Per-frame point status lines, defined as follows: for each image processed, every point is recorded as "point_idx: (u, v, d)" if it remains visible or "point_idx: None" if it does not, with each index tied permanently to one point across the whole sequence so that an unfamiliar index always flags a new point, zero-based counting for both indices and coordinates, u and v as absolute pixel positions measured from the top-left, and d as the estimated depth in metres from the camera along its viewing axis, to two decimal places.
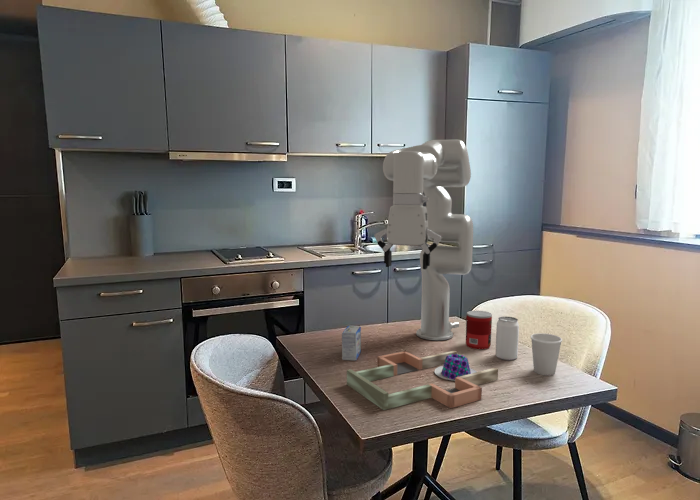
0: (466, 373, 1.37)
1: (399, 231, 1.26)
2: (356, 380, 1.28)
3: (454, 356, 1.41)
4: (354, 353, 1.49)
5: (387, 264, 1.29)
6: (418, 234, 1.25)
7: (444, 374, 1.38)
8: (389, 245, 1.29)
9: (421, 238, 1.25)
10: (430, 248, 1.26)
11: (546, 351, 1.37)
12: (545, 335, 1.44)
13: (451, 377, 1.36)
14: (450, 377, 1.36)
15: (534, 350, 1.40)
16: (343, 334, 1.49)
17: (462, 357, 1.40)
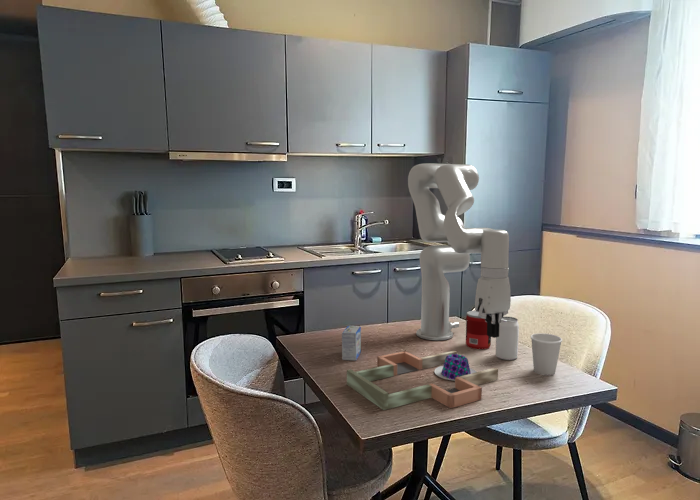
0: (466, 373, 1.36)
1: (496, 301, 1.40)
2: (356, 380, 1.28)
3: (454, 356, 1.41)
4: (354, 353, 1.49)
5: (496, 335, 1.43)
6: (507, 301, 1.43)
7: (444, 374, 1.38)
8: (493, 316, 1.42)
9: (509, 304, 1.44)
10: None
11: (546, 351, 1.37)
12: (545, 335, 1.44)
13: (450, 377, 1.36)
14: (449, 377, 1.36)
15: (534, 350, 1.40)
16: (343, 334, 1.49)
17: (462, 357, 1.40)
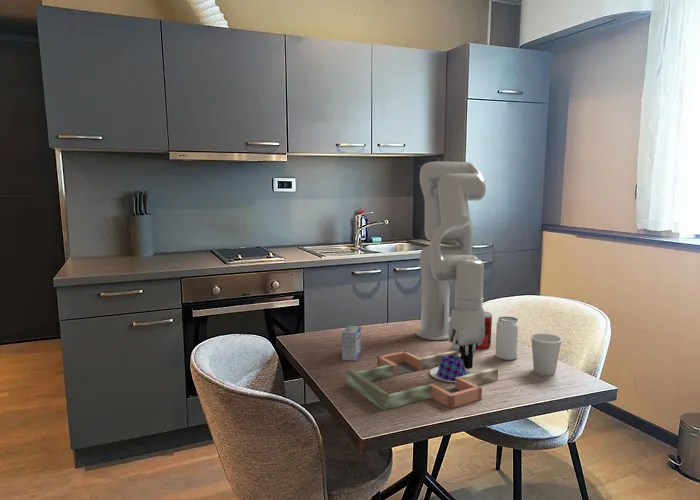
0: (460, 374, 1.35)
1: (469, 333, 1.37)
2: (356, 380, 1.28)
3: (450, 357, 1.40)
4: (354, 353, 1.49)
5: (469, 366, 1.40)
6: (482, 332, 1.40)
7: (439, 374, 1.38)
8: (467, 347, 1.39)
9: (483, 335, 1.40)
10: None
11: (546, 351, 1.37)
12: (545, 335, 1.44)
13: (445, 378, 1.36)
14: (444, 378, 1.36)
15: (534, 350, 1.40)
16: (343, 334, 1.49)
17: (458, 358, 1.39)
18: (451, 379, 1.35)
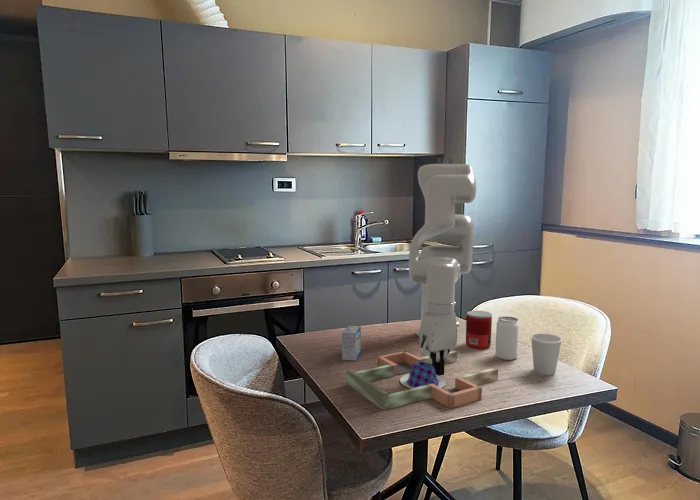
0: (431, 382, 1.30)
1: (440, 338, 1.32)
2: (356, 380, 1.28)
3: (421, 364, 1.35)
4: (354, 353, 1.49)
5: (440, 373, 1.35)
6: (454, 338, 1.35)
7: (409, 382, 1.32)
8: (438, 353, 1.34)
9: (455, 341, 1.35)
10: None
11: (546, 351, 1.37)
12: (545, 335, 1.44)
13: (415, 386, 1.30)
14: (414, 386, 1.30)
15: (534, 350, 1.40)
16: (343, 334, 1.49)
17: (429, 365, 1.33)
18: None
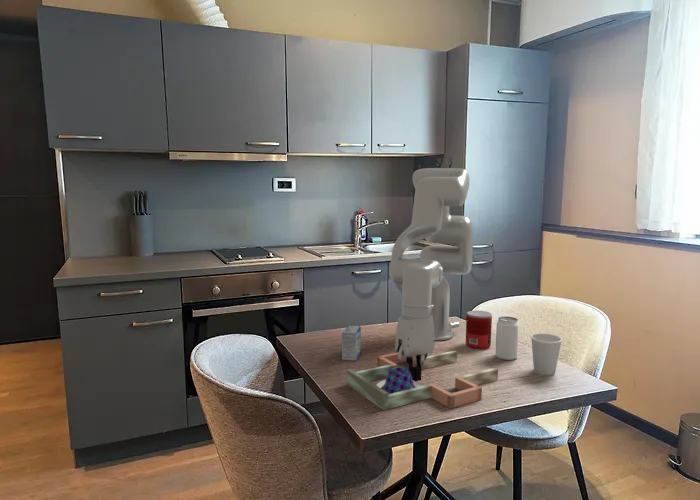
0: (407, 389, 1.26)
1: (416, 343, 1.28)
2: (356, 380, 1.28)
3: (398, 370, 1.31)
4: (354, 353, 1.49)
5: (417, 378, 1.31)
6: (431, 342, 1.31)
7: (385, 389, 1.28)
8: (415, 358, 1.30)
9: (433, 345, 1.31)
10: None
11: (547, 351, 1.37)
12: (545, 335, 1.44)
13: (391, 392, 1.26)
14: (390, 392, 1.26)
15: (534, 350, 1.40)
16: (343, 334, 1.49)
17: (406, 371, 1.29)
18: None
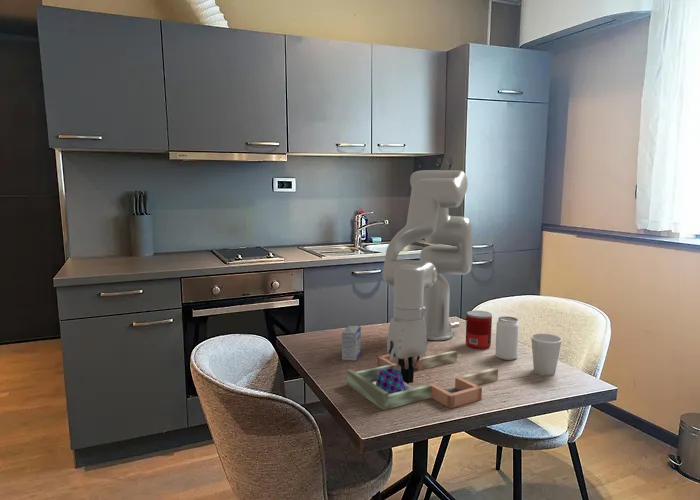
0: (398, 390, 1.25)
1: (408, 345, 1.27)
2: (356, 380, 1.28)
3: (389, 371, 1.30)
4: (354, 353, 1.49)
5: (409, 381, 1.29)
6: (423, 344, 1.29)
7: None
8: (407, 360, 1.28)
9: (425, 347, 1.30)
10: None
11: (546, 351, 1.37)
12: (545, 335, 1.44)
13: None
14: None
15: (534, 350, 1.40)
16: (343, 334, 1.49)
17: (397, 372, 1.28)
18: None
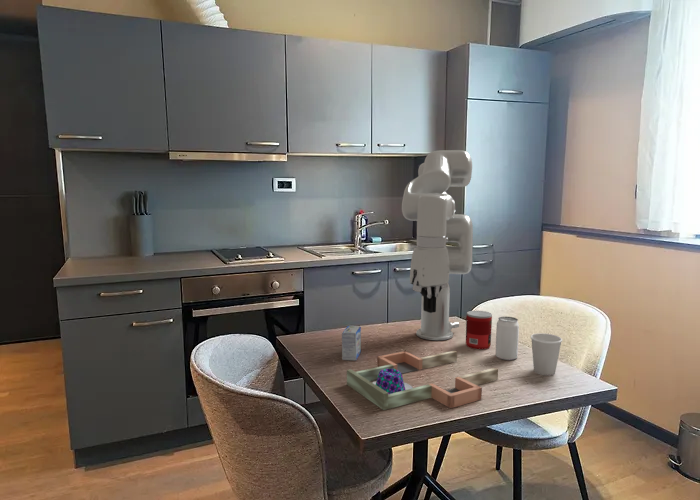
0: (398, 390, 1.25)
1: (431, 273, 1.28)
2: (356, 380, 1.28)
3: (389, 371, 1.30)
4: (354, 353, 1.49)
5: (432, 310, 1.31)
6: (445, 274, 1.31)
7: None
8: (429, 289, 1.30)
9: (447, 277, 1.32)
10: None
11: (546, 351, 1.37)
12: (545, 335, 1.44)
13: None
14: None
15: (534, 350, 1.40)
16: (343, 334, 1.49)
17: (397, 372, 1.28)
18: None
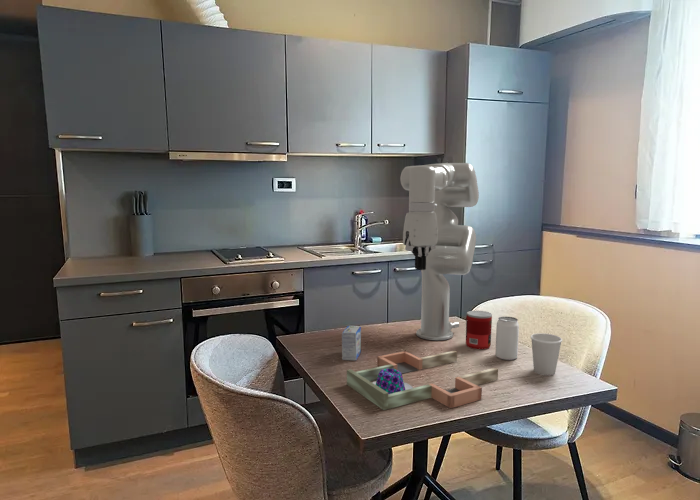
0: (397, 390, 1.25)
1: (422, 234, 1.47)
2: (356, 380, 1.28)
3: (389, 371, 1.30)
4: (354, 353, 1.49)
5: (422, 267, 1.49)
6: (434, 236, 1.49)
7: None
8: (420, 249, 1.48)
9: (436, 239, 1.50)
10: None
11: (547, 351, 1.37)
12: (545, 335, 1.44)
13: None
14: None
15: (534, 350, 1.40)
16: (343, 334, 1.49)
17: (397, 372, 1.28)
18: None
